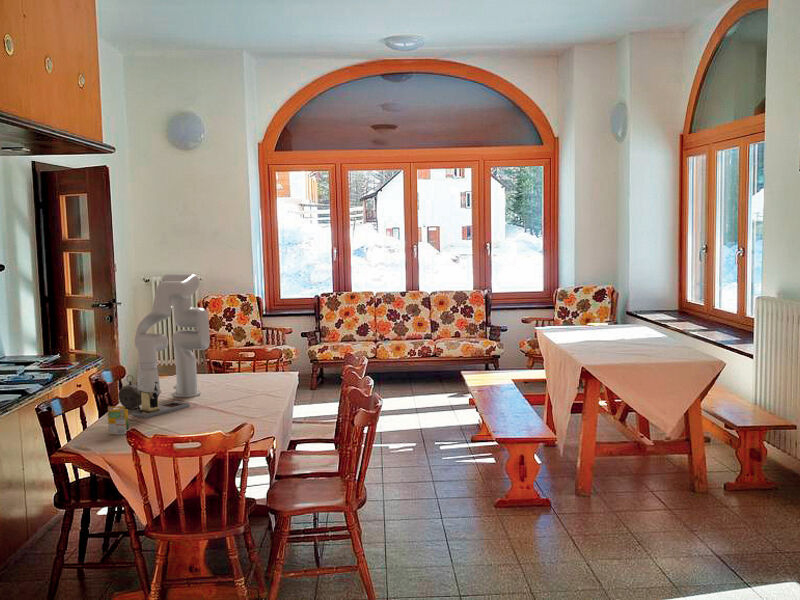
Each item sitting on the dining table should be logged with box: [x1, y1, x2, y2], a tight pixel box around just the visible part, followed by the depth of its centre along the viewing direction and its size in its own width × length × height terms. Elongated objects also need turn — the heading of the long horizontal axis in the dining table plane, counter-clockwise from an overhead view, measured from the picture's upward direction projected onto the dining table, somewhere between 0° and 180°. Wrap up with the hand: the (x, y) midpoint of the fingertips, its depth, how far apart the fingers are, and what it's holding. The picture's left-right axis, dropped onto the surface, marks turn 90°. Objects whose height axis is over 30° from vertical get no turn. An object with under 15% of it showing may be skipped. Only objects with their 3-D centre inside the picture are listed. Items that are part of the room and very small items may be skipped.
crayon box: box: [107, 405, 130, 435], centre depth 344 cm, size 7×3×12 cm, turn 86°
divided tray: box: [131, 400, 191, 419], centre depth 376 cm, size 9×24×2 cm, turn 143°
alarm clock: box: [118, 374, 142, 411], centre depth 381 cm, size 11×5×16 cm, turn 71°
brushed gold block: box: [141, 392, 160, 413], centre depth 372 cm, size 5×5×9 cm
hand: (150, 405), depth 372 cm, fingers closed on brushed gold block, 5 cm apart
